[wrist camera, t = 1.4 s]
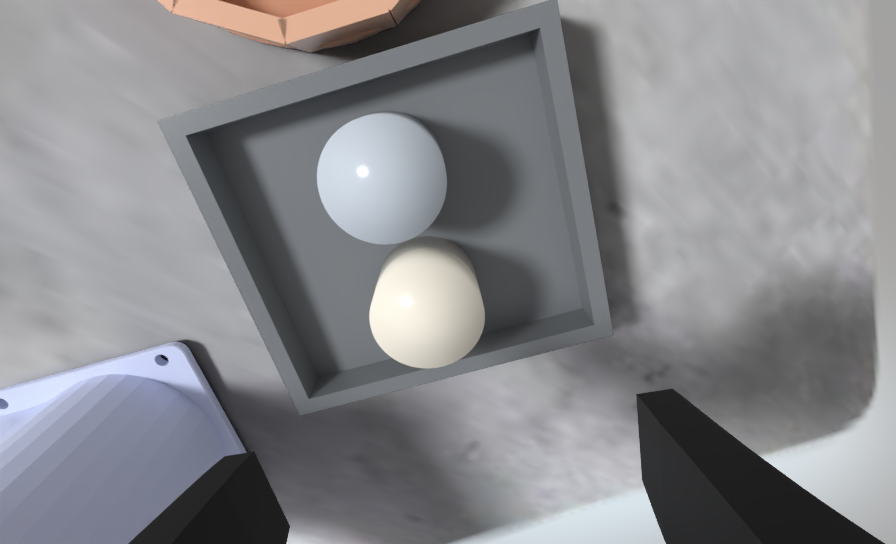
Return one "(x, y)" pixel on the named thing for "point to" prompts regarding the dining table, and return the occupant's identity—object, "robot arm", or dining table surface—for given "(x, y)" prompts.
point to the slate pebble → (382, 177)
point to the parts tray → (460, 221)
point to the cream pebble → (427, 303)
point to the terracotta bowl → (297, 19)
